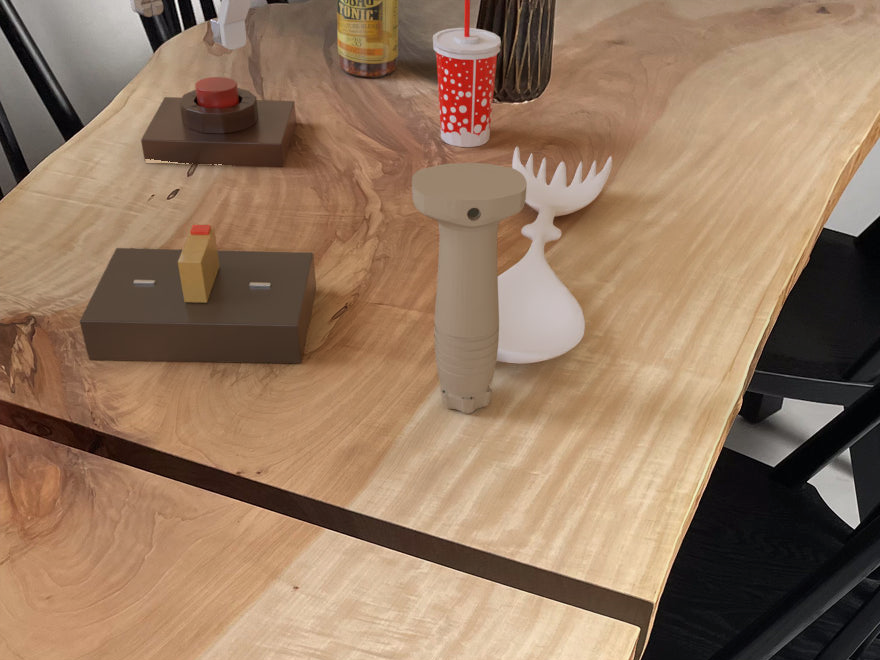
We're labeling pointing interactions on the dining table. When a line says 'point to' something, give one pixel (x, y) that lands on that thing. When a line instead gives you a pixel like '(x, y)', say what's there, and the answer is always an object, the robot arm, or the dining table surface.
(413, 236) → the dining table surface
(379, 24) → the brown tonic bottle
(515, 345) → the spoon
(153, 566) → the dining table surface
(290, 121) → the block
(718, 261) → the dining table surface
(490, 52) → the beverage cup
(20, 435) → the dining table surface
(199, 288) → the lock knob
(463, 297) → the handle
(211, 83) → the bell button
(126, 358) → the plate
